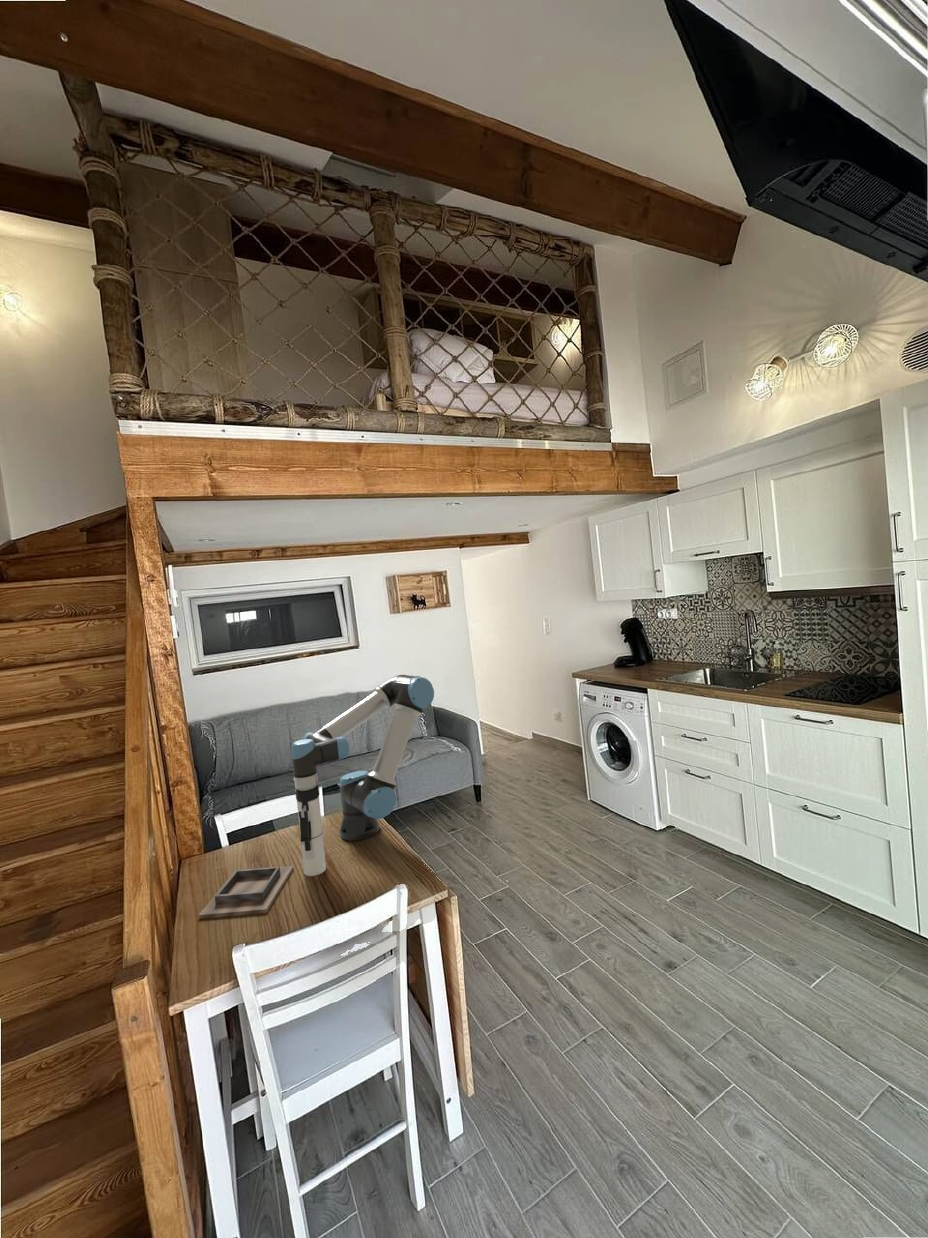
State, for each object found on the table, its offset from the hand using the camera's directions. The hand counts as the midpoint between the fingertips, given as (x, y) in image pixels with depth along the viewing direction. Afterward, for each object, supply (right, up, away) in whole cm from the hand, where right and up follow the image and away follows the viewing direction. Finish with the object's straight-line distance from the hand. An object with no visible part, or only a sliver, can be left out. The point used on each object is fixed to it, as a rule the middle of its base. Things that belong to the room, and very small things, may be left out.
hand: (313, 852), depth 170 cm
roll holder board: (-17, -8, -10) cm, 21 cm away
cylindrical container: (0, -6, 0) cm, 6 cm away
